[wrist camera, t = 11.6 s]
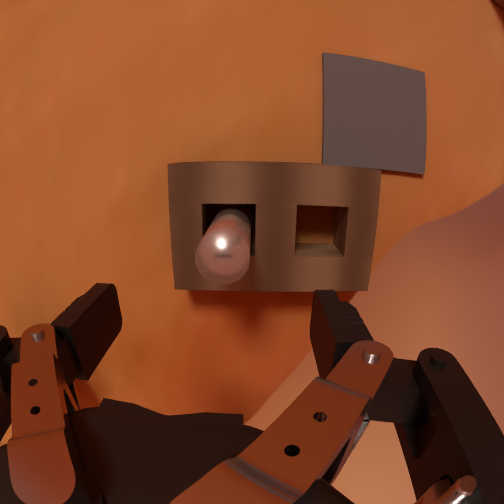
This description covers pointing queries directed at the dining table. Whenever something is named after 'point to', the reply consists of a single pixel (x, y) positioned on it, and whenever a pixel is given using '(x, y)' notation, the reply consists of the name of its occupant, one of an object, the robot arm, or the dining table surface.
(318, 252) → the socket block
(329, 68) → the mat
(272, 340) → the dining table surface
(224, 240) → the pin
